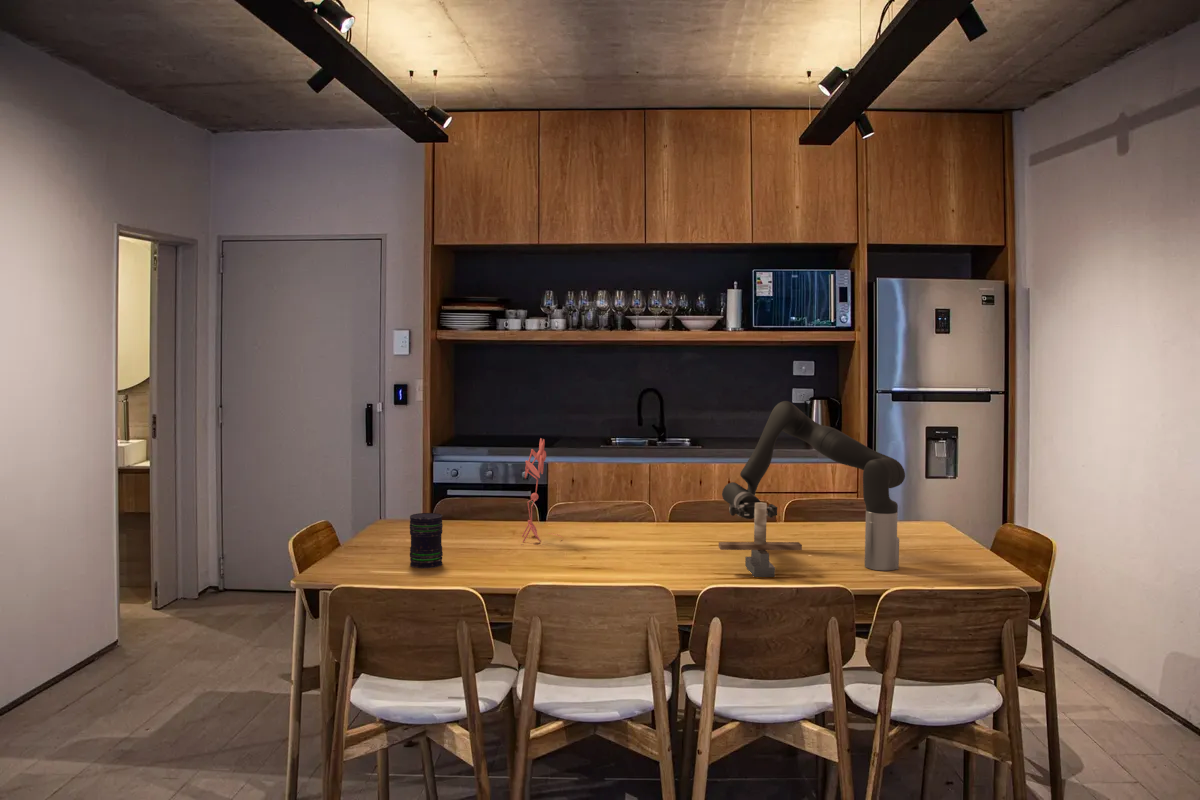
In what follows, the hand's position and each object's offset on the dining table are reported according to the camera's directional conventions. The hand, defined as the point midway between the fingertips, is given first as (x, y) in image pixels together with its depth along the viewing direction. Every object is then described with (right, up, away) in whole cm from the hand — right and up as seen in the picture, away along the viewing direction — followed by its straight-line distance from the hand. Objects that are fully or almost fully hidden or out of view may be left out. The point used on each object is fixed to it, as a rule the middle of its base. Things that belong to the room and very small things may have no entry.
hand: (757, 514), depth 277 cm
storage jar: (-100, -16, +3) cm, 101 cm away
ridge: (0, -17, -4) cm, 17 cm away
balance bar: (0, -10, -4) cm, 10 cm away
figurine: (-67, -14, +41) cm, 80 cm away
